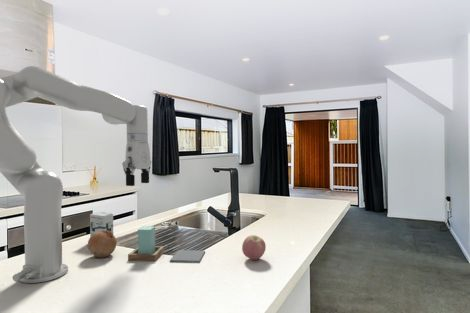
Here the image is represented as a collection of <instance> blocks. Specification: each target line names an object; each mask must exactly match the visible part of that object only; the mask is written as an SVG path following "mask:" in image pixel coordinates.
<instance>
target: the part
mask: <svg viewBox="0 0 470 313" xmlns="http://www.w3.org/2000/svg"><path fill="white" fill-rule="evenodd" d="M155 246H156V226H150V225H149V226H146V225H144V226H141V227H140V228H138V229H137V247H138V254H154V253H155Z"/></svg>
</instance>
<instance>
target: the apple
mask: <svg viewBox="0 0 470 313" xmlns="http://www.w3.org/2000/svg"><path fill="white" fill-rule="evenodd" d="M241 245H242V248H241V250H242V253H243V255H244V256H245V257H246V258H249V259H250V260H253V261H258V260H259V259H261V258H262V257H263V255H264V254H265V252H266V249H267V248H266V247H267V246H266V242H265V241H264V239H263V238H261V237H260V236H259V235H253V234H252V235H248V236H246V238H245V239H244V240H243V242H242V244H241Z"/></svg>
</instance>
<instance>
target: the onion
mask: <svg viewBox="0 0 470 313" xmlns="http://www.w3.org/2000/svg"><path fill="white" fill-rule="evenodd" d="M116 247H117V238H116V236H115V235H114V233H113V234H112V233H111V231H108V230H107V231H101V232H97V233H94V234H93V235H92V236H91V237H89V238H88V241H87V249H88V251H89V252H90V254H91V255H93V257H95V258H99V259H103V258H106V257H109V256H110V255H112V254H114V251H115V250H116Z"/></svg>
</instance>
